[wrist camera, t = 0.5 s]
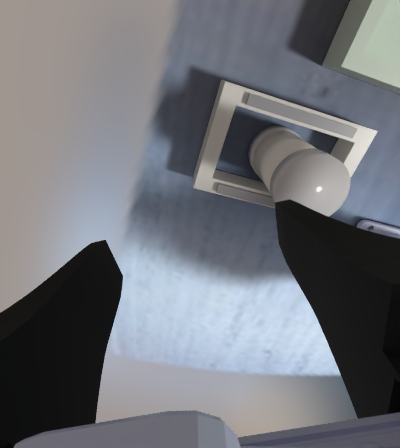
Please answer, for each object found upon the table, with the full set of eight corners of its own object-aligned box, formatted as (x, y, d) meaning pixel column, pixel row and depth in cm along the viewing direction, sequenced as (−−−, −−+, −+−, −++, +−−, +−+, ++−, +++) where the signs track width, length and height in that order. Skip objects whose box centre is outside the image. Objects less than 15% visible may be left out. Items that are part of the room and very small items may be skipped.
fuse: (307, 133, 19) (364, 166, 13) (285, 181, 21) (327, 230, 15) (259, 118, 18) (296, 146, 12) (240, 169, 20) (264, 214, 14)
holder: (360, 124, 19) (380, 132, 17) (314, 208, 22) (327, 223, 20) (221, 79, 17) (226, 81, 15) (192, 177, 20) (193, 190, 18)
